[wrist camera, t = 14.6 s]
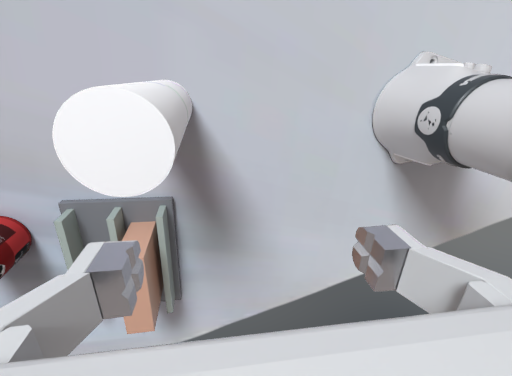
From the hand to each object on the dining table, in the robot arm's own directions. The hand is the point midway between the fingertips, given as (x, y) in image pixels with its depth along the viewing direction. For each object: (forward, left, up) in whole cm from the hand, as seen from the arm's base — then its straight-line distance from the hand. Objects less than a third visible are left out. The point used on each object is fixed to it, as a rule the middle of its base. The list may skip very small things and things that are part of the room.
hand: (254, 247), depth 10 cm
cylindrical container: (+7, -1, -35) cm, 36 cm away
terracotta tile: (+13, +24, -34) cm, 43 cm away
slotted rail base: (+16, +25, -35) cm, 46 cm away
